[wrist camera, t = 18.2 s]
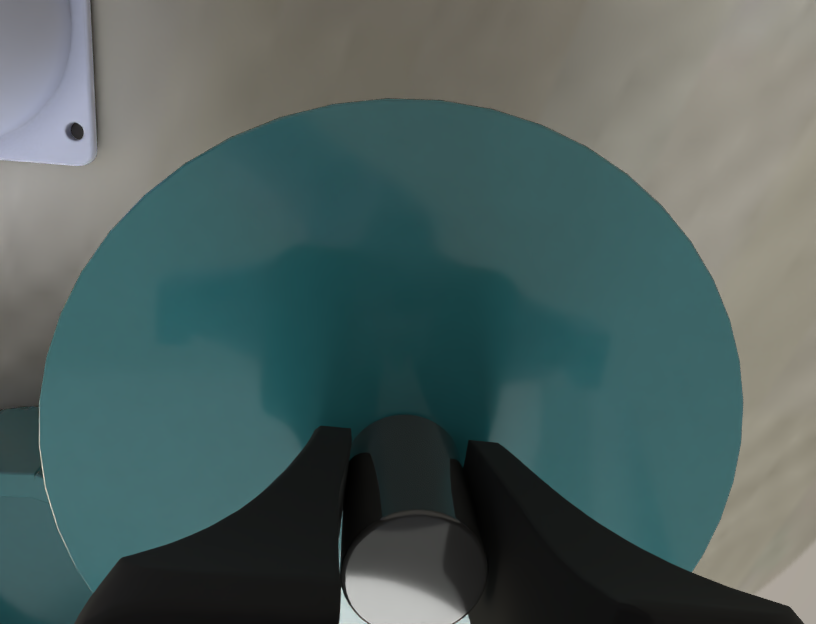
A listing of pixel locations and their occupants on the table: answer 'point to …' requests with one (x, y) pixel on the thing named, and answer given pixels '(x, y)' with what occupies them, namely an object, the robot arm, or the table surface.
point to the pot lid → (391, 348)
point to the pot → (31, 534)
